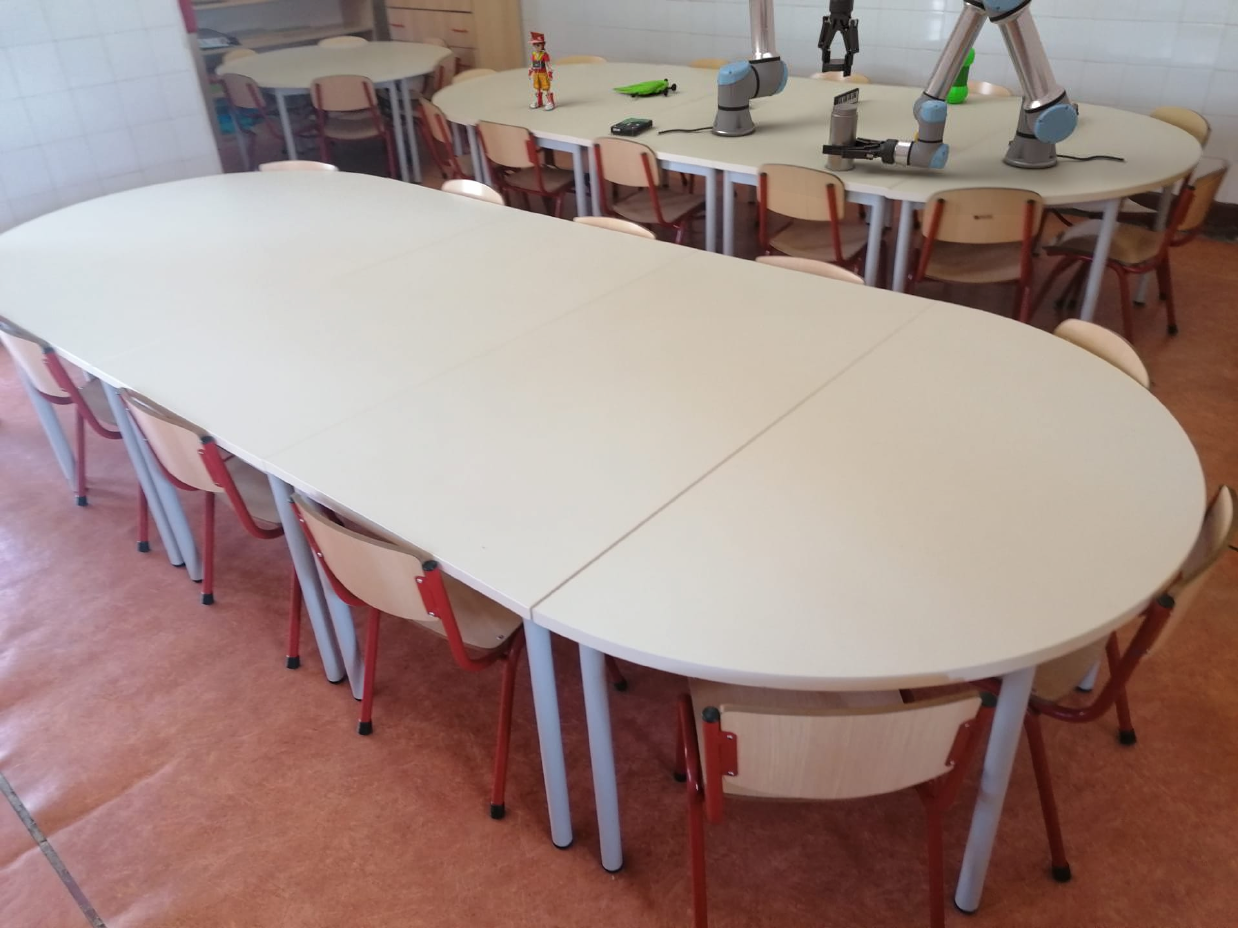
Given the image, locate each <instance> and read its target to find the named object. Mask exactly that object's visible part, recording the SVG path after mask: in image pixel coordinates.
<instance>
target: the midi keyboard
mask: <svg viewBox="0 0 1238 928" xmlns="http://www.w3.org/2000/svg"><path fill="white" fill-rule="evenodd" d="M859 94H860V88H859V87H856V88H853V89H850V90H848V91H846V92H843V93H840V94H838V95H835V96H834V97H833V106H834V105H837V104H854V103H856V102H858V101H859Z"/></svg>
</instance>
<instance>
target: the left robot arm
mask: <svg viewBox="0 0 1238 928" xmlns="http://www.w3.org/2000/svg"><path fill="white" fill-rule="evenodd" d="M828 4H829V5H828V11H829V13H830V14H827V15H823V16H822V20H821V21H822V23H821V24H822V25H821V28H820V33H819V38H818V42H817V48H818V49H820V50H821V62H822V64H823V61H824V60H828V59H831V54H832V50H831V45H832V43H833V41H834V38H835V36H836V34H837V32H839V33H840V35H841V36H842V40H843V44H844V49H845V52H846V53H845V54H844V58H843V59H844V70H843V71H842V77H843V78H847V77H851V76H852V66H853V65H854V56H855V54H859V53H860V42H859V22H860V20H859V18H852V12H853V11H854V4H855V0H829V3H828ZM748 7H749V9H748V10H749V23H750V24H749V26H750V38H751V39H750V41H751V55H750V57H749V58H748V61H733V62H729V63H726V64H724V65H723V66H721V67H720V68H719V70H718V73H717V74H718V75H717V111H716V114H715V118H714V120H713V124H712V126H705V127H698V128H693V129H692V128H691V129H685V128H674V129H673V128H672V129H666V130H662V131H658V135H661V134H662V135H663V134H666V133H672V132H683V133H684V132H685V133H686V132H687V133H692V132H699V131H705V130H711V129H712V133H713V134H715V135H717V136H721V137H741V136H746V135H750V134H752V133H754V127H755V123H754V121H753V118H752V115H751V111H750V107H749V104H750V100H755V99H760V98H767V97H772V96H776V95H779V94H781V93H782V92H783V91H784V89H785V87H786V86H787V83H788V79H789V70H788V66H787V64H786V62H785V61H784V60H782V59H781V54H780V53H779V52H777V48H776V29H775V26H776V25H775V10H774V0H748ZM821 73H822V74H824V73H830V71H825V70H823V69H822V68H821Z"/></svg>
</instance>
